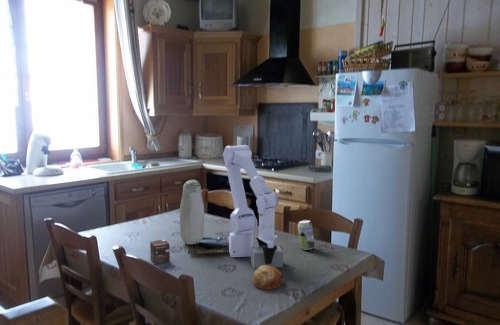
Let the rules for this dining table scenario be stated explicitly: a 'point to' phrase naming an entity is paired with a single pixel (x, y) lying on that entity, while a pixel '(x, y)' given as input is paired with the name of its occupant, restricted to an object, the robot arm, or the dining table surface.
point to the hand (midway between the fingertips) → (266, 259)
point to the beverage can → (306, 234)
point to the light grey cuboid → (259, 259)
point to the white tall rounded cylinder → (192, 213)
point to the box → (159, 251)
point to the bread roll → (267, 277)
